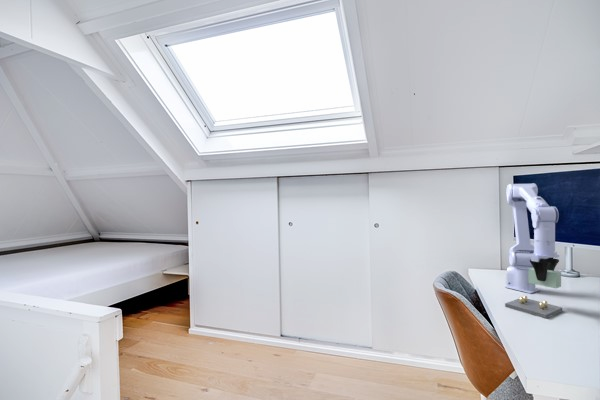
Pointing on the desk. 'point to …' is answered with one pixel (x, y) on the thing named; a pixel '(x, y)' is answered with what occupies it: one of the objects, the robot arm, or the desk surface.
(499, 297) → the desk surface
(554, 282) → the board block
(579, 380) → the desk surface
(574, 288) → the desk surface
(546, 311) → the plate
